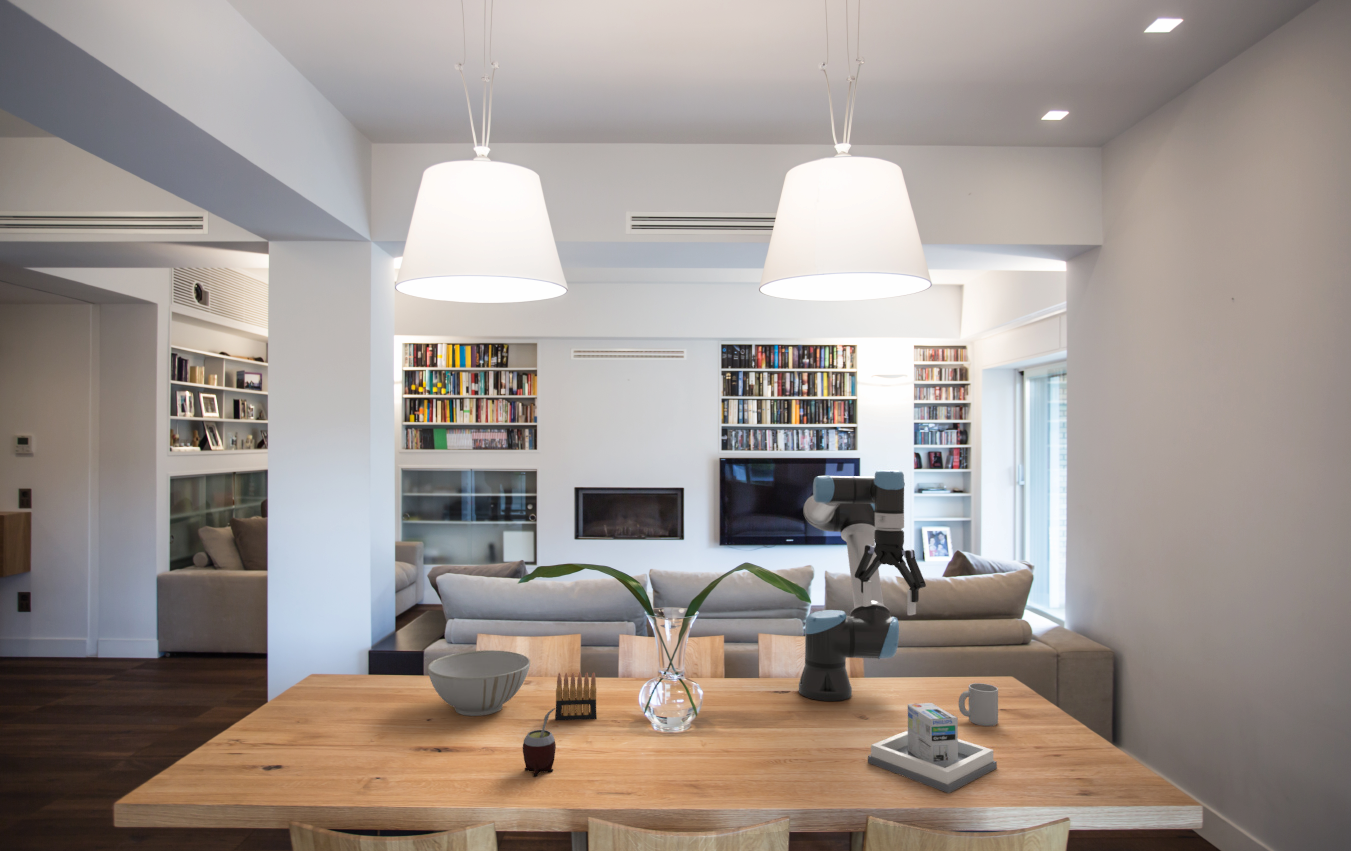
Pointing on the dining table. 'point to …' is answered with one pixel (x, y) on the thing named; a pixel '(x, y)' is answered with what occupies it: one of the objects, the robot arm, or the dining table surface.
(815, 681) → the robot arm
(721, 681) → the dining table surface
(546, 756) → the mate gourd
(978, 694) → the cup
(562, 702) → the ammunition clip
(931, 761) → the light bulb box
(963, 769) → the socket dock
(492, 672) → the decorative bowl
